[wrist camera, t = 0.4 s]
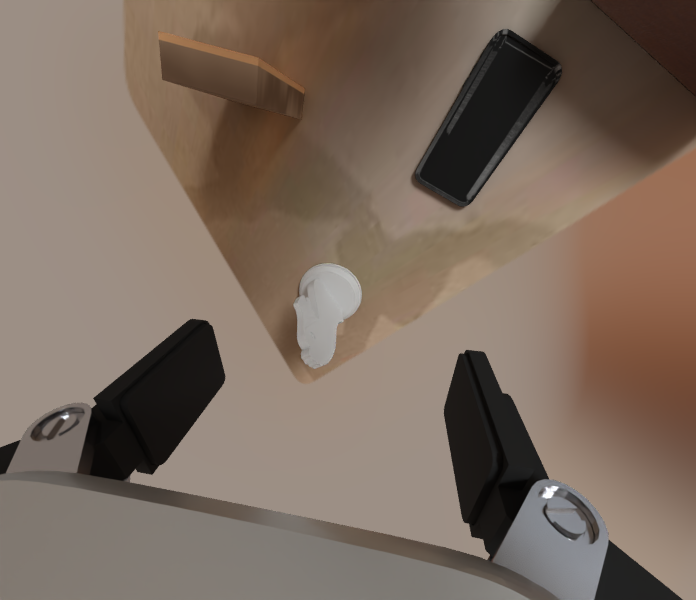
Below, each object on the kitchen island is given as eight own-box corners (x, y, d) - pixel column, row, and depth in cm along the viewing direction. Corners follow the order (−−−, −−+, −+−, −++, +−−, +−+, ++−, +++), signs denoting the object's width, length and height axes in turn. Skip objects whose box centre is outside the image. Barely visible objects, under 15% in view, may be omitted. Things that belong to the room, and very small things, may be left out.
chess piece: (340, 251, 40) (312, 300, 27) (373, 304, 43) (362, 371, 30) (288, 280, 43) (241, 335, 30) (322, 327, 47) (293, 395, 34)
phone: (567, 68, 27) (466, 210, 34) (561, 71, 28) (464, 208, 35) (499, 22, 26) (410, 178, 33) (495, 27, 27) (410, 177, 34)
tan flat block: (237, 70, 31) (158, 30, 21) (305, 88, 31) (258, 57, 21) (236, 102, 33) (162, 79, 22) (301, 119, 33) (256, 105, 22)
